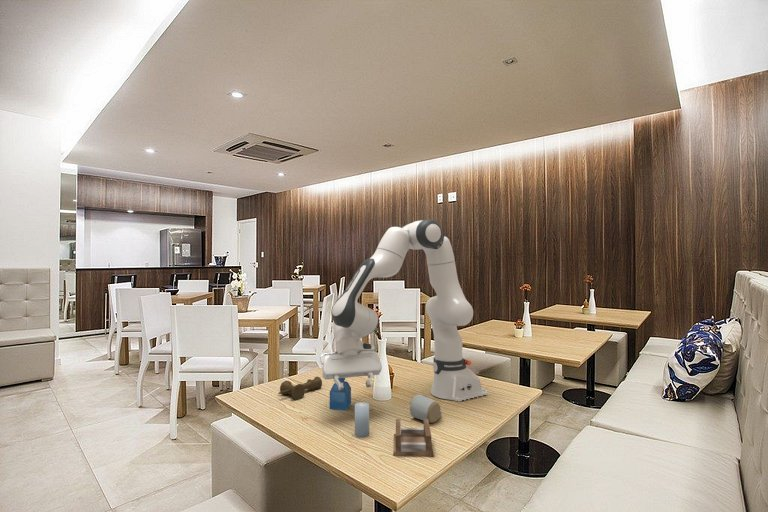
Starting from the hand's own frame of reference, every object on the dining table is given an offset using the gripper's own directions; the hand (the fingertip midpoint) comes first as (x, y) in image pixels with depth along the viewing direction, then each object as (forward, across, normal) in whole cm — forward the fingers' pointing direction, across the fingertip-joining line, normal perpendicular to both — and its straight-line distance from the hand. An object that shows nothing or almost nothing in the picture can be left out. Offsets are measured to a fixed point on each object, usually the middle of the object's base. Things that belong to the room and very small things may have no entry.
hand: (355, 387), depth 125 cm
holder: (+22, +12, -6) cm, 26 cm away
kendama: (-15, -15, +33) cm, 39 cm away
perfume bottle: (-3, -2, +20) cm, 20 cm away
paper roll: (+14, 0, +3) cm, 14 cm away
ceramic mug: (+11, +24, +6) cm, 27 cm away
